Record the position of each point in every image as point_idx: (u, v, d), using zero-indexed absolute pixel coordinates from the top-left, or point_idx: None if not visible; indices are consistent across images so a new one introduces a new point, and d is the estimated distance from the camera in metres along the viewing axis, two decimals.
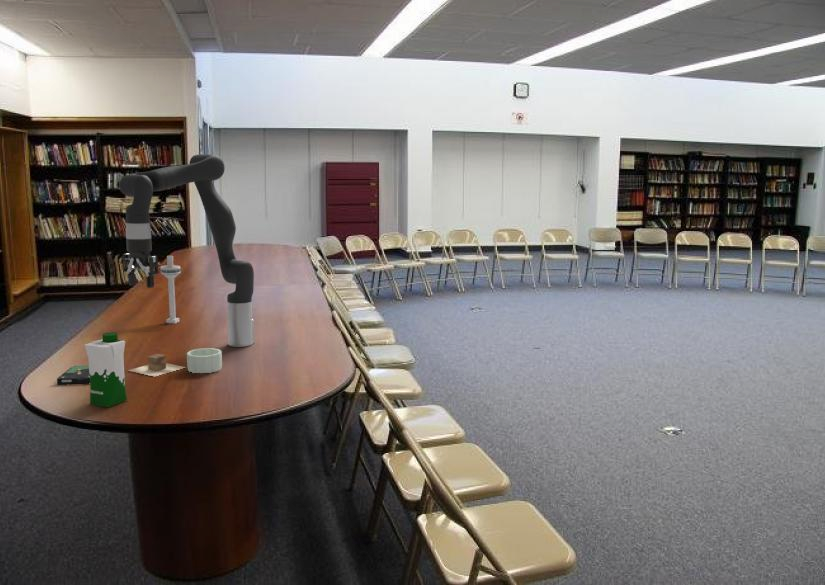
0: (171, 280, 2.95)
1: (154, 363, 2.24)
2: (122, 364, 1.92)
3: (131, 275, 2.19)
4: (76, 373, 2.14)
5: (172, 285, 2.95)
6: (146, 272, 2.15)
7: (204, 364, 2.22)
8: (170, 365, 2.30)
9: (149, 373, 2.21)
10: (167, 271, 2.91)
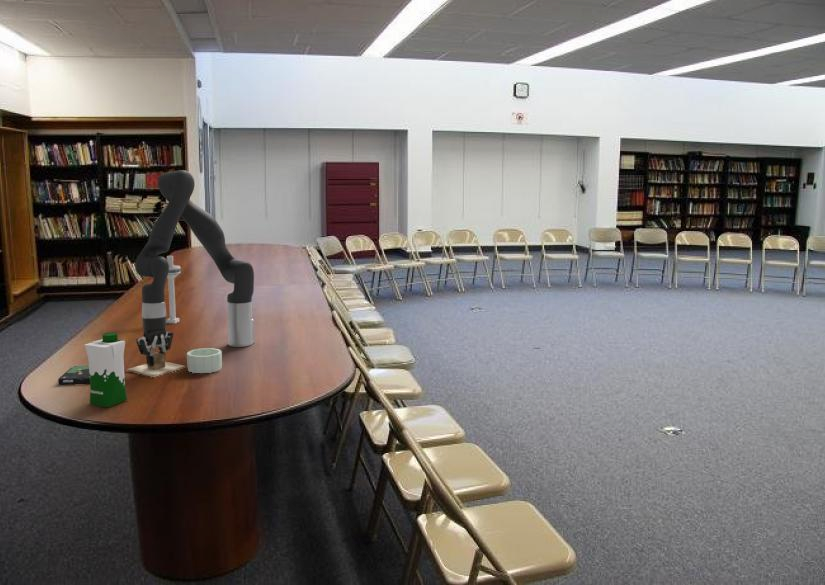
0: (171, 280, 2.95)
1: None
2: (122, 364, 1.92)
3: None
4: (77, 373, 2.14)
5: (172, 285, 2.95)
6: (164, 348, 2.27)
7: (204, 364, 2.22)
8: (169, 364, 2.30)
9: (148, 372, 2.21)
10: None
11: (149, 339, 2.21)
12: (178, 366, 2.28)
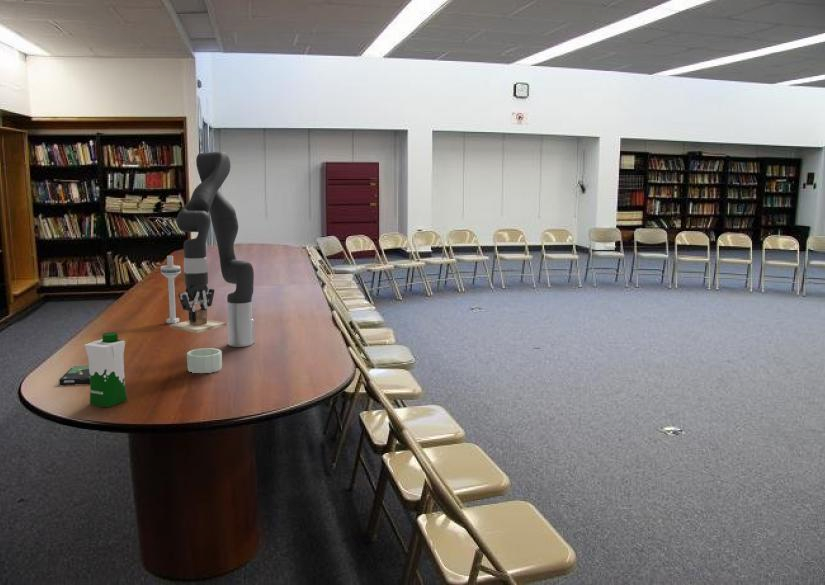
0: (171, 280, 2.95)
1: None
2: (122, 364, 1.92)
3: None
4: (78, 373, 2.14)
5: (172, 285, 2.95)
6: (205, 305, 2.26)
7: (204, 364, 2.22)
8: (211, 321, 2.29)
9: (190, 327, 2.20)
10: (167, 271, 2.91)
11: (191, 294, 2.20)
12: (219, 323, 2.27)
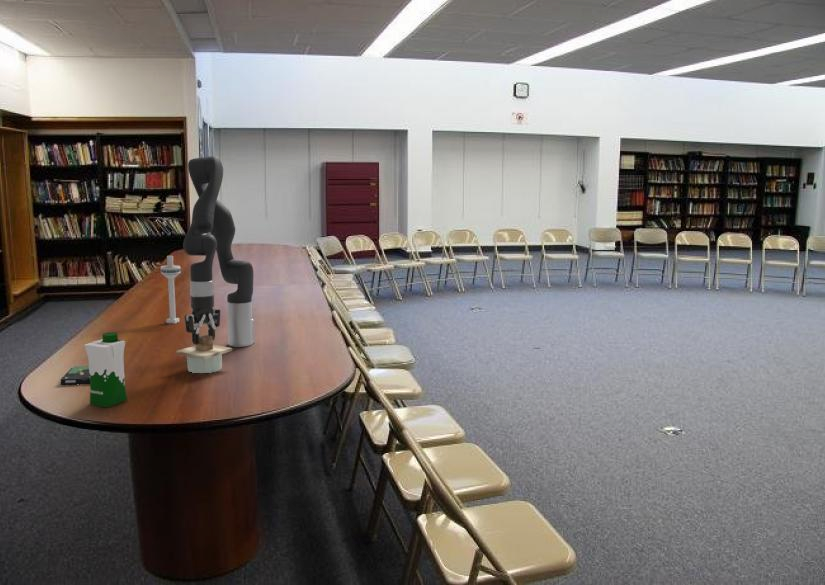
0: (171, 280, 2.95)
1: (202, 343, 2.24)
2: (122, 364, 1.92)
3: None
4: (79, 373, 2.14)
5: (172, 285, 2.95)
6: (213, 325, 2.28)
7: (204, 364, 2.22)
8: (216, 346, 2.31)
9: (197, 353, 2.22)
10: (167, 271, 2.91)
11: (197, 316, 2.22)
12: (225, 348, 2.29)
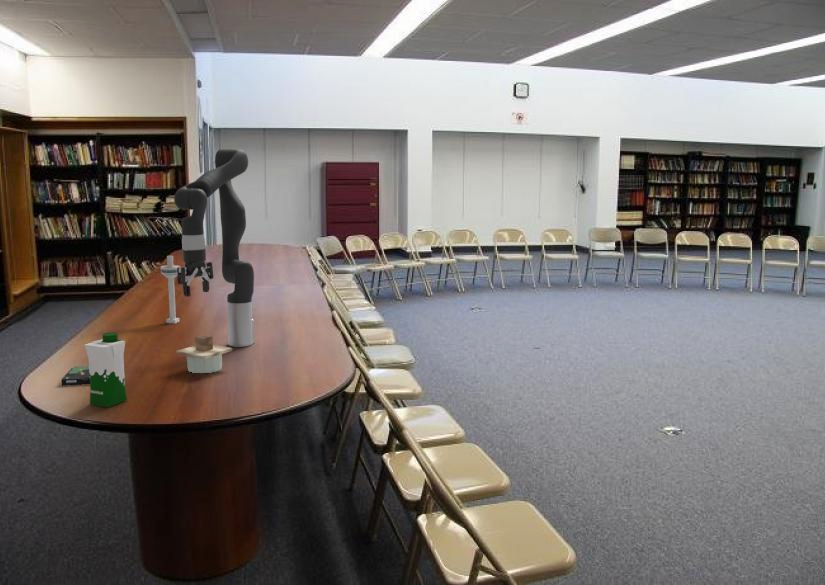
0: (171, 280, 2.95)
1: (202, 343, 2.24)
2: (122, 364, 1.92)
3: None
4: (79, 373, 2.14)
5: (172, 285, 2.95)
6: (207, 277, 2.33)
7: (204, 364, 2.22)
8: (216, 346, 2.31)
9: (197, 353, 2.22)
10: (167, 271, 2.91)
11: (190, 269, 2.25)
12: (225, 348, 2.29)
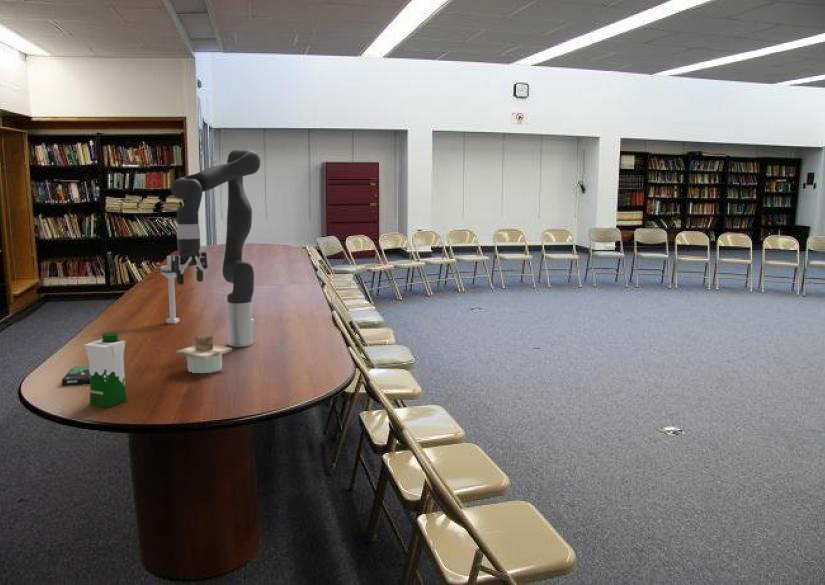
0: (171, 280, 2.95)
1: (202, 343, 2.24)
2: (122, 364, 1.92)
3: None
4: (80, 374, 2.13)
5: (172, 285, 2.95)
6: (201, 267, 2.37)
7: (204, 364, 2.22)
8: (216, 346, 2.31)
9: (197, 353, 2.22)
10: (167, 271, 2.91)
11: (184, 257, 2.29)
12: (225, 348, 2.29)
